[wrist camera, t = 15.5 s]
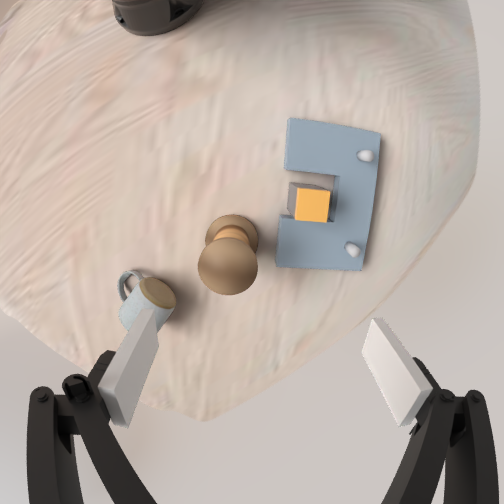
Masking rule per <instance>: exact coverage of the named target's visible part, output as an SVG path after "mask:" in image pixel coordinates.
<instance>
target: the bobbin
mask: <svg viewBox="0 0 504 504" xmlns="http://www.w3.org/2000/svg"><path fill="white" fill-rule="evenodd" d="M205 244H206V247H205V248H204V250H203V251H202V253H201V256H200V258H199V262H198V272H199V275H200V278H201V280H202V281H203V283H204V284H205V285H206V286H207V287H208V288H209V289H210V290H212V291H214V292H216V293H218V294H222V295H235V294H239V293H241V292H243V291H245V290H246V289H248V288H249V287H250V286H251V285H252V284H253V282H254V281H255V278H256V276H257V271H258V265H257V259H256V256H255V252H256V250H257V247H258V237H257V232H256V230H255V228H254V226H253V225H252V224H251V223H250V222H249V221H248V220H247V219H245V218H243V217H241V216H238V215H226V216H222V217H220V218H218V219H217V220H215V221H214V222H213V223H212V224H211V226H210V227H209V229H208V231H207V234H206V239H205Z"/></svg>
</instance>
